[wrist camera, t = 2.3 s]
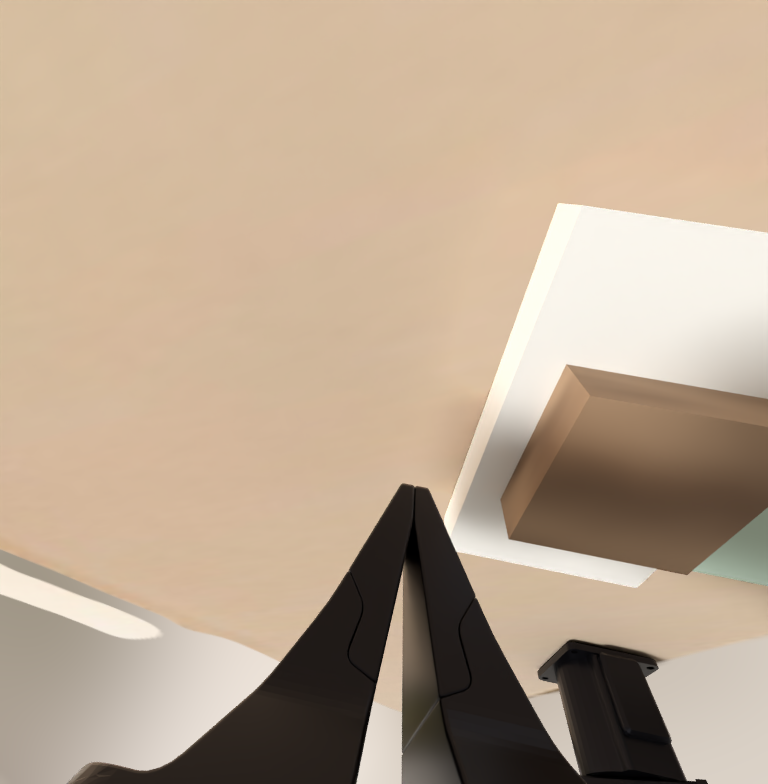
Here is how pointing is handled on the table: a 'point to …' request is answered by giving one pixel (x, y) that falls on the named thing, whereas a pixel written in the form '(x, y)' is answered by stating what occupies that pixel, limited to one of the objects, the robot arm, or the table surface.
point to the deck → (612, 349)
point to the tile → (639, 470)
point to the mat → (742, 554)
